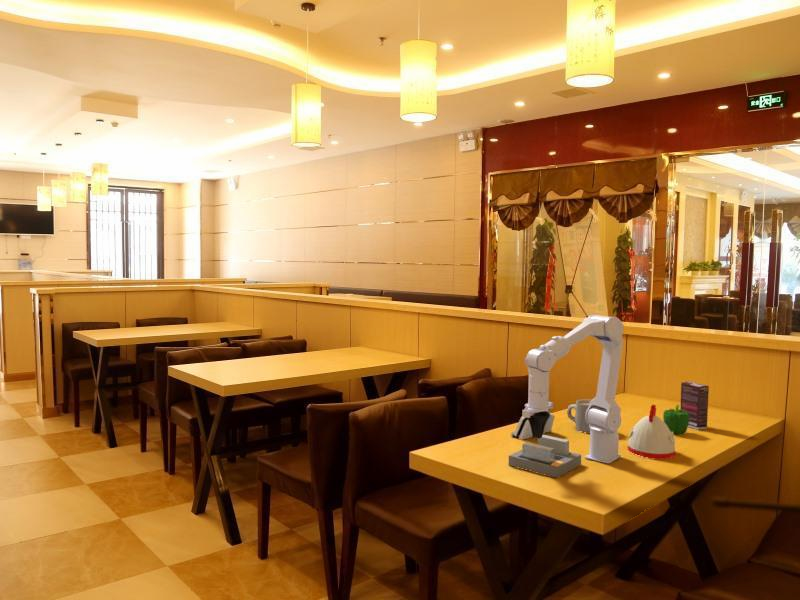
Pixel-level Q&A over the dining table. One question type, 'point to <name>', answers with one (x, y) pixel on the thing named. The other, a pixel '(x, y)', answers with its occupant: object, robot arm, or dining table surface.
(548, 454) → the panel
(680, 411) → the bell pepper
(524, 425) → the white arched block
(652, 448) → the chicken hat
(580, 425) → the coffee mug
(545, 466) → the rack
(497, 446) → the dining table surface
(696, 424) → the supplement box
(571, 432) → the dining table surface
